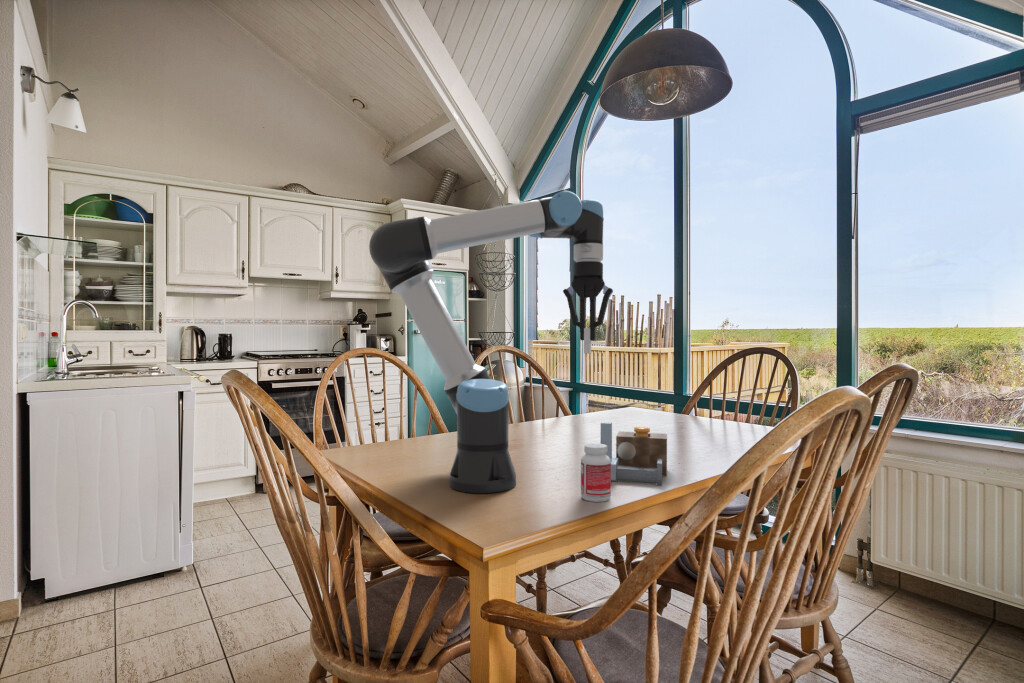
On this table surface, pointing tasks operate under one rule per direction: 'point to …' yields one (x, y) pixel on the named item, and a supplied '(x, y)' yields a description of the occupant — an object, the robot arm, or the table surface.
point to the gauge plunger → (642, 431)
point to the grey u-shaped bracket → (640, 474)
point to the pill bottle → (595, 473)
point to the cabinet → (641, 450)
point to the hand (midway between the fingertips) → (587, 353)
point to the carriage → (609, 445)
